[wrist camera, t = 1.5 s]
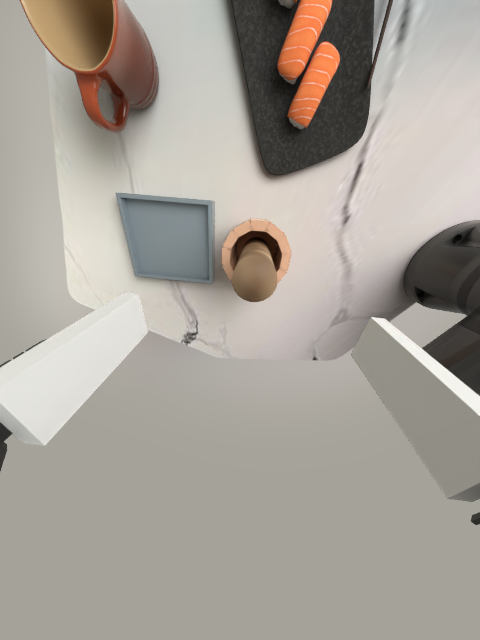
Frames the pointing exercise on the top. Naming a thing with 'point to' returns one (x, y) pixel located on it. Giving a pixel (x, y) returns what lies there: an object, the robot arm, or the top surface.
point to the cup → (256, 229)
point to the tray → (170, 236)
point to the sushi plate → (307, 75)
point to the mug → (99, 52)
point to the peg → (255, 272)
